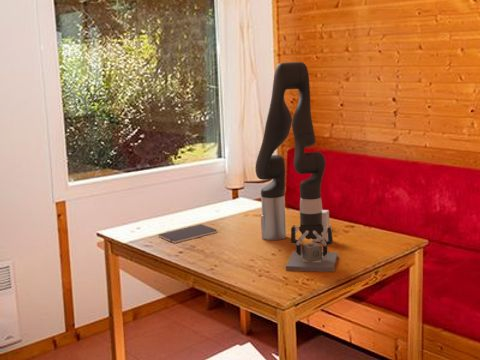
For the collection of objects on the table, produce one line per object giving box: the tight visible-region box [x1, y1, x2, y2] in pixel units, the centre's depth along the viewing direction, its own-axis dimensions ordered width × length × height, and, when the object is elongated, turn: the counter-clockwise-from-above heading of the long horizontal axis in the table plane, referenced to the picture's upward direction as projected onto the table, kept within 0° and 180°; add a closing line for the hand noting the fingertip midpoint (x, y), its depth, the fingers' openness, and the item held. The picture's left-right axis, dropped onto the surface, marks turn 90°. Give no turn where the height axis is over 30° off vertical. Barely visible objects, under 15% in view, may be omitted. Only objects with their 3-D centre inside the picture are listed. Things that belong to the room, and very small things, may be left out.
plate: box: [285, 250, 339, 273], centre depth 210 cm, size 16×16×2 cm
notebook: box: [158, 224, 217, 244], centre depth 253 cm, size 13×2×21 cm
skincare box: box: [311, 209, 330, 243], centre depth 234 cm, size 6×4×12 cm
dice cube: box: [301, 241, 323, 262], centre depth 210 cm, size 5×5×5 cm
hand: (312, 255), depth 210 cm, fingers open, 8 cm apart
